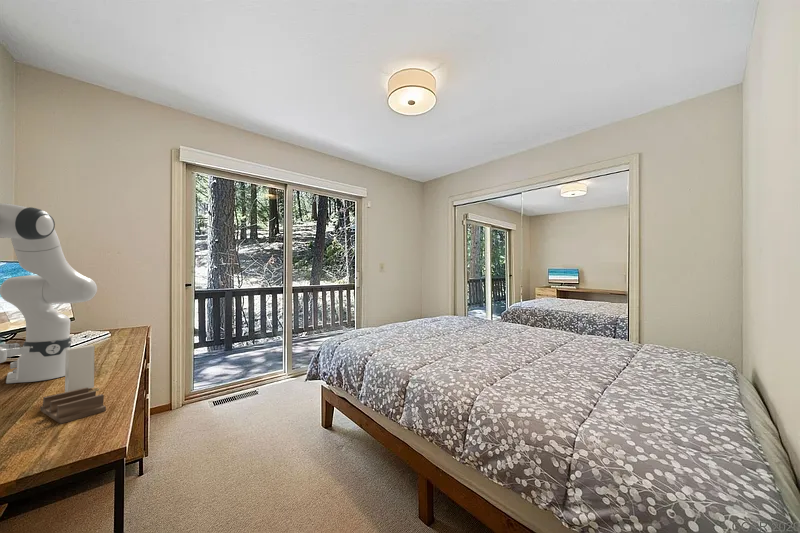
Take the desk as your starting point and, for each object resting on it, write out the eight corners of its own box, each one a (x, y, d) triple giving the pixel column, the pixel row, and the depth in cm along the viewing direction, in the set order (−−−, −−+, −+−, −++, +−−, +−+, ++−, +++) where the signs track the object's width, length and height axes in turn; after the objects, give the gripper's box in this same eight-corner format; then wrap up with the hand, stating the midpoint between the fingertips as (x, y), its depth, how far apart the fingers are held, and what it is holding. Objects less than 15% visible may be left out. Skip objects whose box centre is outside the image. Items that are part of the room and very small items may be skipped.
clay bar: (64, 392, 97) (65, 349, 97) (90, 386, 102) (90, 345, 103) (68, 393, 95) (69, 349, 96) (94, 387, 100) (94, 345, 101)
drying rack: (40, 410, 86) (41, 396, 86) (83, 399, 94) (84, 386, 94) (60, 423, 79) (61, 407, 79) (105, 410, 87) (106, 396, 87)
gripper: (-54, 350, 71) (36, 340, 83) (-68, 341, 80) (14, 334, 92) (-56, 377, 70) (34, 363, 83) (-70, 365, 80) (13, 354, 92)
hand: (23, 347), depth 88 cm, fingers open, 8 cm apart
